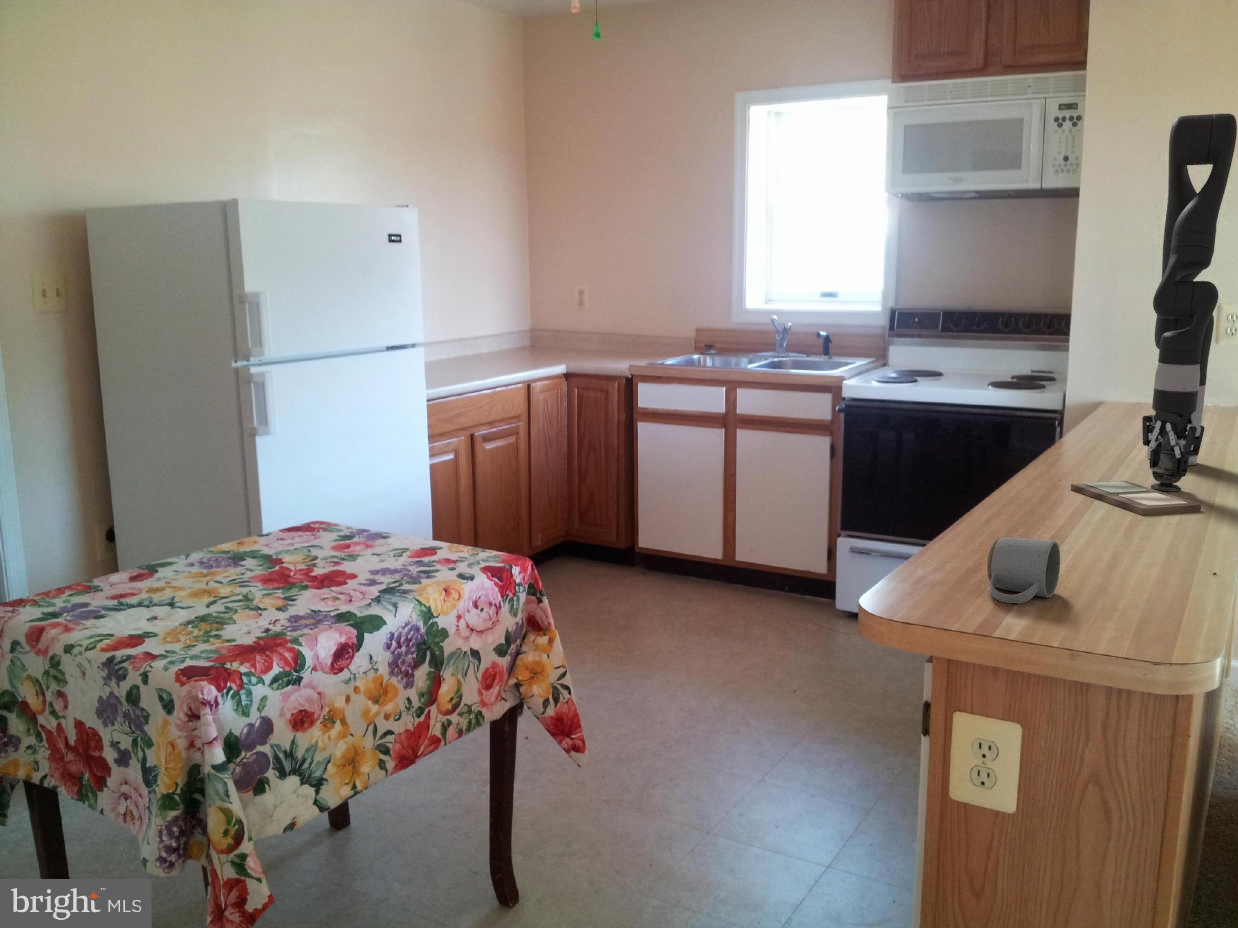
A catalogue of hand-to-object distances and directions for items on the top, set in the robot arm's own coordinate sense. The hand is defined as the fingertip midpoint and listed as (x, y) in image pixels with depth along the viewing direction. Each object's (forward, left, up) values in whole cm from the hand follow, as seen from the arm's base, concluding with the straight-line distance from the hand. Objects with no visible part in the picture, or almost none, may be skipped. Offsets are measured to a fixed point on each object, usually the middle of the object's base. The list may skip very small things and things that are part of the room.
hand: (1167, 472), depth 199 cm
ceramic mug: (+49, -63, -4) cm, 80 cm away
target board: (+6, -12, -3) cm, 14 cm away
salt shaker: (0, 0, -3) cm, 3 cm away
